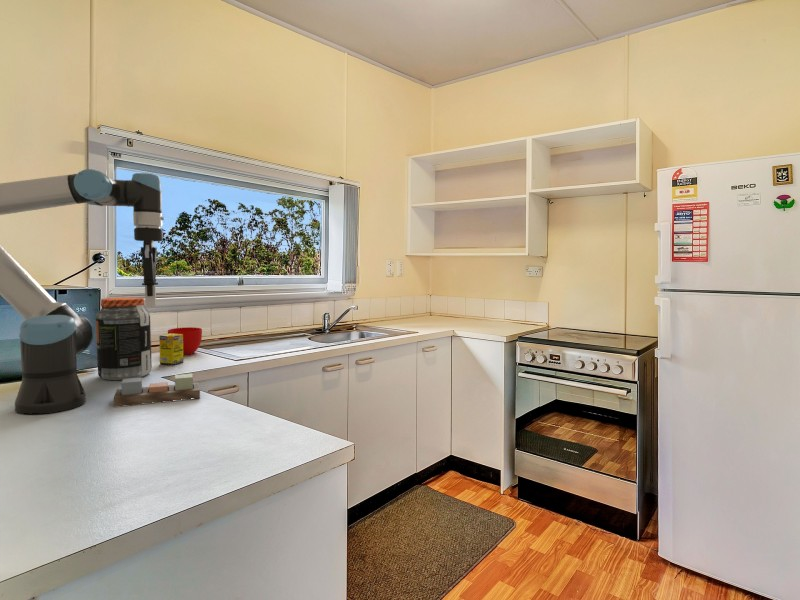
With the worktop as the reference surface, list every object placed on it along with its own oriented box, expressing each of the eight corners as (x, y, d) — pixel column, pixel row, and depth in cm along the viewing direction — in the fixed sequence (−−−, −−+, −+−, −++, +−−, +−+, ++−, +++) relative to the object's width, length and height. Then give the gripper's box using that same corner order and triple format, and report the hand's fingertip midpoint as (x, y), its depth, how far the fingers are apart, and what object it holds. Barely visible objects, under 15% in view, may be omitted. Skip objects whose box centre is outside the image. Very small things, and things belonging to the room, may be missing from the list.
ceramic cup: (154, 357, 192) (153, 332, 191) (181, 349, 208) (180, 326, 208) (184, 359, 190) (183, 333, 189) (208, 351, 206) (208, 328, 205)
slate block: (142, 389, 136) (141, 377, 136) (141, 394, 132) (140, 381, 132) (123, 391, 134) (123, 379, 134) (121, 395, 130) (121, 382, 130)
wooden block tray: (198, 390, 144) (198, 382, 144) (199, 398, 136) (199, 390, 136) (117, 398, 136) (117, 389, 135) (113, 407, 128) (113, 397, 127)
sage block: (192, 385, 142) (192, 373, 141) (193, 389, 137) (192, 377, 137) (175, 386, 140) (174, 375, 139) (175, 390, 135) (174, 378, 135)
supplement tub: (162, 372, 166) (160, 297, 164) (122, 383, 152) (119, 301, 150) (128, 368, 172) (125, 296, 170) (86, 378, 157) (82, 299, 155)
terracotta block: (168, 394, 139) (167, 382, 139) (167, 398, 135) (167, 385, 134) (150, 395, 137) (149, 383, 137) (149, 399, 133) (148, 387, 133)
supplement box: (173, 365, 178) (173, 336, 177) (159, 364, 179) (158, 335, 178) (184, 362, 183) (183, 333, 183) (170, 361, 185) (169, 333, 184)
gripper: (160, 226, 139) (162, 308, 141) (164, 229, 151) (166, 304, 153) (130, 225, 136) (133, 309, 138) (137, 228, 148) (139, 305, 150)
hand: (150, 306), depth 145 cm, fingers closed
